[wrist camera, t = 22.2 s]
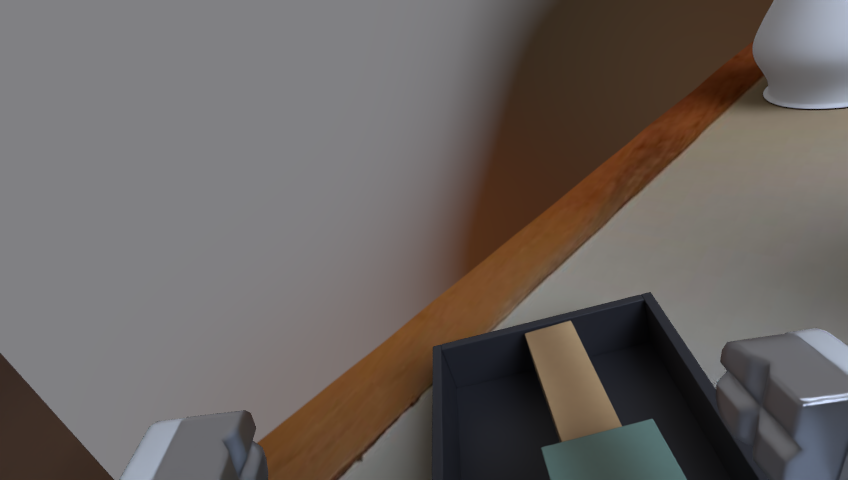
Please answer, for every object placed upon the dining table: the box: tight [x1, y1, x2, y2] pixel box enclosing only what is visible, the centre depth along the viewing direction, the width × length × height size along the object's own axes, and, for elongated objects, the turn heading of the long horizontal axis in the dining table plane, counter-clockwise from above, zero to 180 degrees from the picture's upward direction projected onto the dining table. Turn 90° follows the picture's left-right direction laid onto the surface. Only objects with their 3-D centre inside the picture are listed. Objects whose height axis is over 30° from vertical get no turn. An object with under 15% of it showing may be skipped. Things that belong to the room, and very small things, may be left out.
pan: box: [432, 292, 769, 480], centre depth 25 cm, size 14×20×4 cm
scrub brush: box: [525, 321, 687, 480], centre depth 26 cm, size 5×15×5 cm, turn 2°
